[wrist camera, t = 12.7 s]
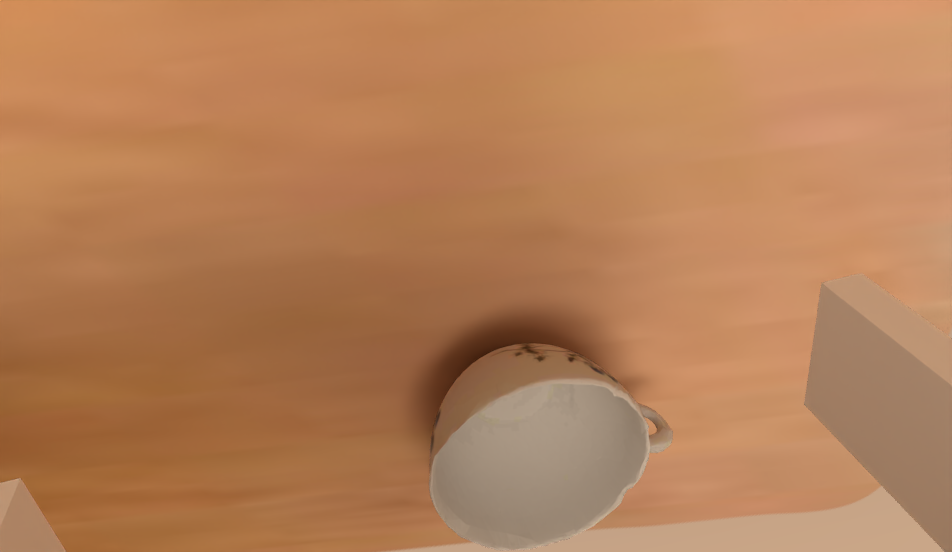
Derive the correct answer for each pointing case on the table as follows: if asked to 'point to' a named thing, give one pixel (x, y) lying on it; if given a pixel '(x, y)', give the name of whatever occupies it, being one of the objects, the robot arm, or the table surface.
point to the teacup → (536, 447)
